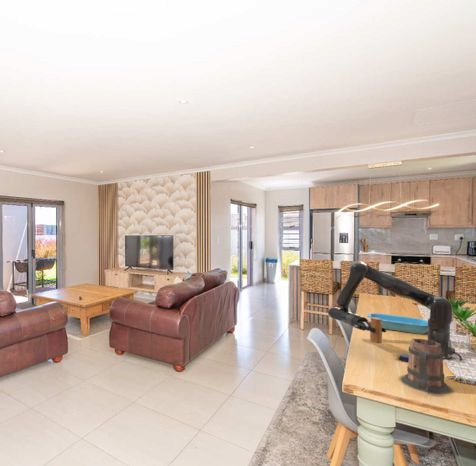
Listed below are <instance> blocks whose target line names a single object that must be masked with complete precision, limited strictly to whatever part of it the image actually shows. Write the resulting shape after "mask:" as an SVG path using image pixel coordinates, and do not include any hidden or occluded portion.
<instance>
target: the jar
mask: <svg viewBox="0 0 476 466" xmlns="http://www.w3.org/2000/svg"><path fill="white" fill-rule="evenodd" d="M369 322H370V327H372V328H374V329H375V333H373V332H371V331H369V342H371V343H373V344H382V343H383V332H382V322H381V318H377V317H372V318H370V321H369Z"/></svg>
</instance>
